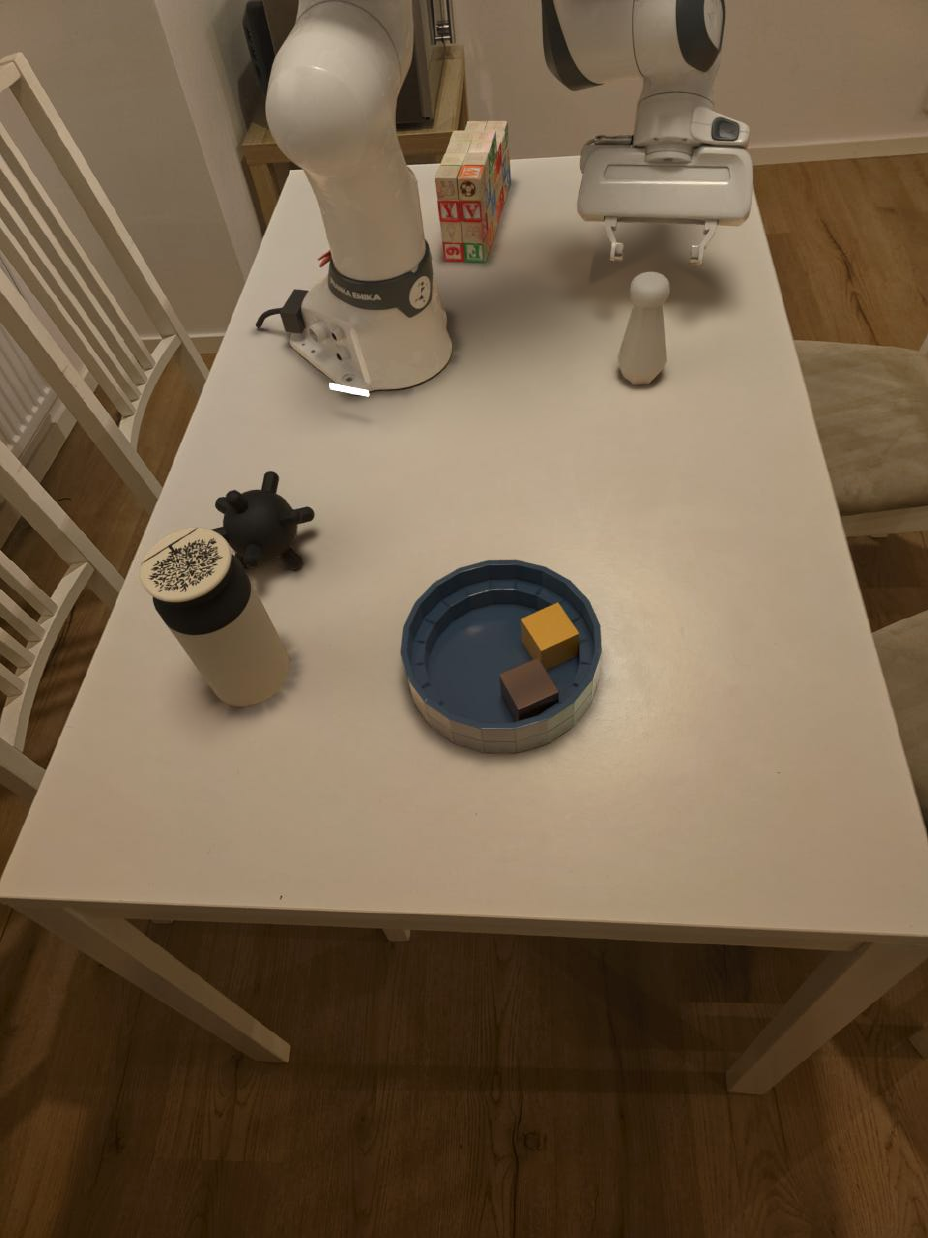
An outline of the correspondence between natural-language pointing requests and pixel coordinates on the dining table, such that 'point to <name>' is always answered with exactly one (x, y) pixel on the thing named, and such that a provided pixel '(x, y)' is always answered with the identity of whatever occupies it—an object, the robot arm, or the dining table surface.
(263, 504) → the toy ball
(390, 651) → the dining table surface
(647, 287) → the salt shaker
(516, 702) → the walnut block
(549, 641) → the mustard block
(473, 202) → the stack of blocks
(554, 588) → the bowl
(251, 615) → the travel mug
